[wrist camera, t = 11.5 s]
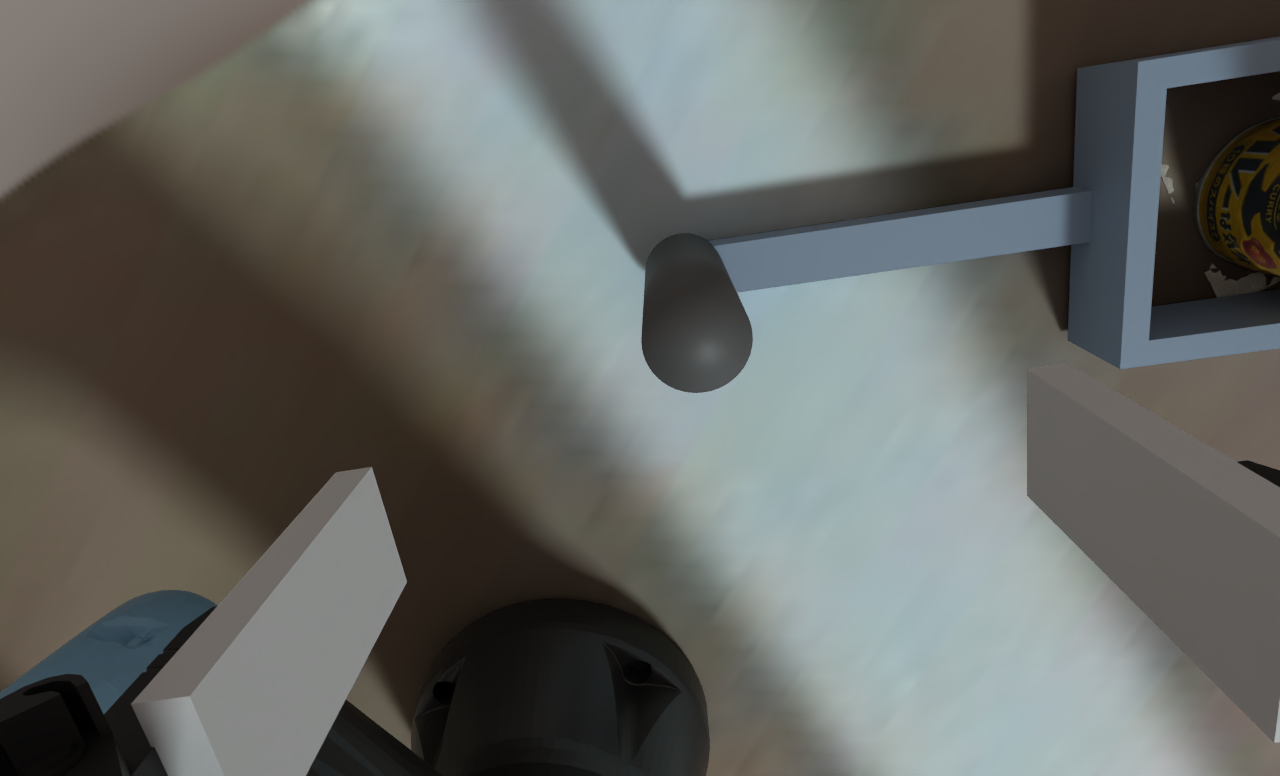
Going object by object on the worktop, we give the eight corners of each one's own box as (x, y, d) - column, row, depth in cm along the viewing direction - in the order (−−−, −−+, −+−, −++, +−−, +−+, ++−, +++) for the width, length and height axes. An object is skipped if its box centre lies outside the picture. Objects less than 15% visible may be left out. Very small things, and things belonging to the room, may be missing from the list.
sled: (663, 394, 35) (667, 514, 24) (626, 138, 31) (611, 152, 21) (1359, 300, 33) (1687, 389, 22) (1405, 16, 29) (1822, -37, 19)
